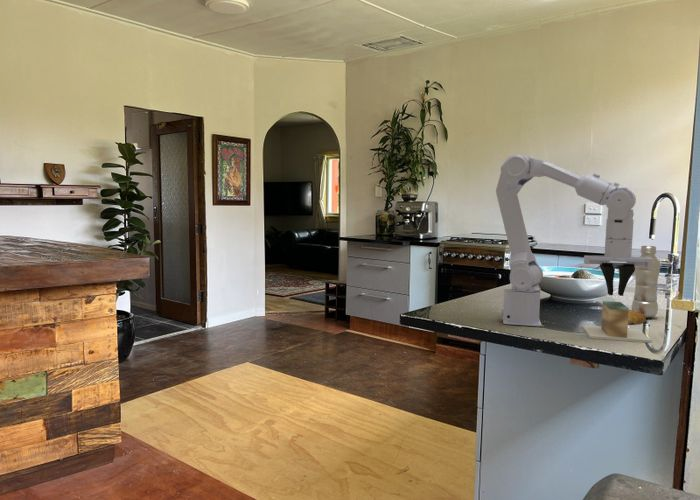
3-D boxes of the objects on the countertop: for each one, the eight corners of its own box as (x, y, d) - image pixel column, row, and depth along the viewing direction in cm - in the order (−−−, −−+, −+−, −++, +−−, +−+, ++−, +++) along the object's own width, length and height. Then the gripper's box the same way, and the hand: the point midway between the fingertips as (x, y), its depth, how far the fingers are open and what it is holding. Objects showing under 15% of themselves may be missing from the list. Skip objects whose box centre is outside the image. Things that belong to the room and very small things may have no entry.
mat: (590, 338, 122) (590, 335, 122) (582, 327, 133) (582, 325, 133) (651, 342, 119) (651, 340, 119) (638, 331, 129) (638, 328, 129)
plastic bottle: (653, 315, 148) (658, 245, 146) (660, 320, 141) (665, 247, 139) (628, 313, 149) (632, 245, 147) (634, 319, 143) (639, 247, 141)
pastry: (633, 318, 145) (634, 305, 144) (653, 324, 138) (654, 310, 138) (605, 320, 142) (606, 306, 142) (624, 326, 136) (625, 312, 135)
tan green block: (608, 336, 122) (609, 307, 121) (601, 328, 129) (602, 300, 129) (626, 337, 121) (628, 308, 120) (618, 329, 128) (620, 301, 128)
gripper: (588, 238, 121) (585, 296, 123) (658, 240, 118) (654, 299, 119) (583, 236, 128) (580, 291, 129) (648, 238, 124) (645, 294, 126)
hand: (615, 294), depth 125 cm, fingers closed
